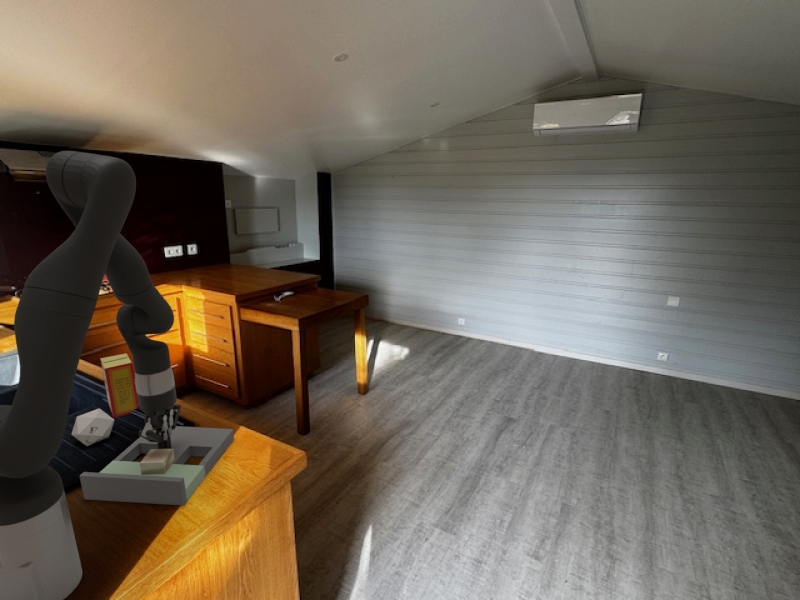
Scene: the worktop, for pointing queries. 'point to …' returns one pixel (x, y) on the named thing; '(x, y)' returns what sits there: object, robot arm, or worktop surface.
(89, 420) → the die
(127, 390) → the baking soda box
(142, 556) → the worktop surface
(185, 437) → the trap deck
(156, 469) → the birch block
